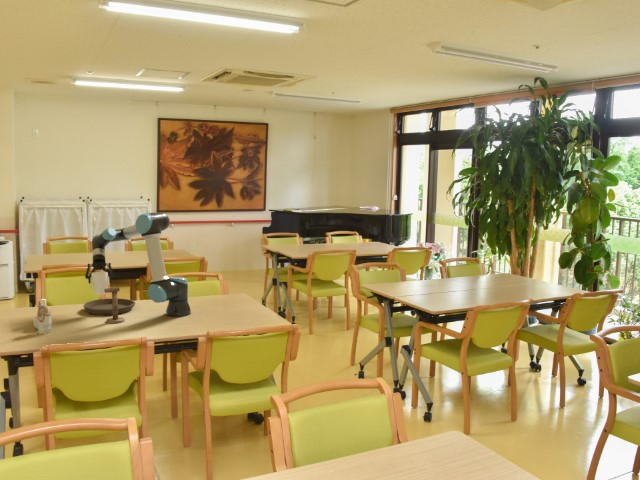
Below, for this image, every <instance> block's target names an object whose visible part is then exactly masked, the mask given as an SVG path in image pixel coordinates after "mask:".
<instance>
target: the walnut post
mask: <svg viewBox="0 0 640 480" xmlns="http://www.w3.org/2000/svg"><path fill="white" fill-rule="evenodd" d="M104 292H105V293H106V294H108V293H111V298H112V312H113V315H112V317H109V318H106V321H105V322H106V323H107V324H109V325H110V324H116V325H117V324H122V323H123V322H125V318H124V317H122V316H121V317H120V316H119V314H118V299H117V298H118V292H120V287H116V286H115V287H110V288H107V287H106V289H104Z"/></svg>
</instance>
